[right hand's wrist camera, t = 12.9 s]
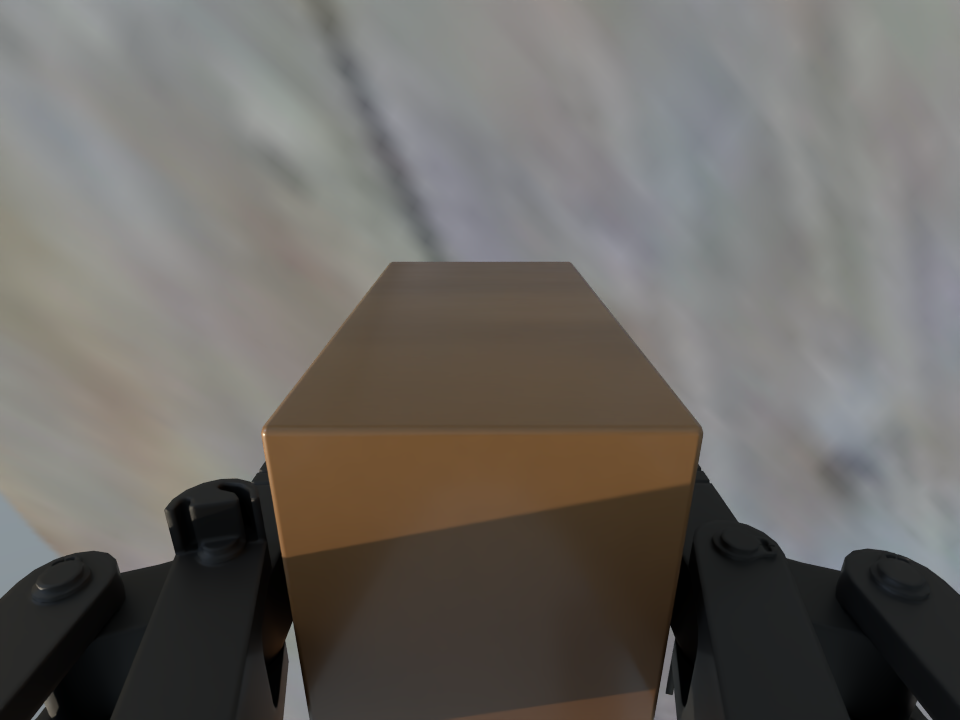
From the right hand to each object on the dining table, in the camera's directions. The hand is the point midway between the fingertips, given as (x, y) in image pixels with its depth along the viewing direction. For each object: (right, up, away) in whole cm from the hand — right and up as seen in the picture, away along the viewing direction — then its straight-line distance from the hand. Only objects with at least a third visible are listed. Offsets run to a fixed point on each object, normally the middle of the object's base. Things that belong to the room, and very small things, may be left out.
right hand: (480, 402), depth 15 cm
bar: (0, -8, +4) cm, 9 cm away
